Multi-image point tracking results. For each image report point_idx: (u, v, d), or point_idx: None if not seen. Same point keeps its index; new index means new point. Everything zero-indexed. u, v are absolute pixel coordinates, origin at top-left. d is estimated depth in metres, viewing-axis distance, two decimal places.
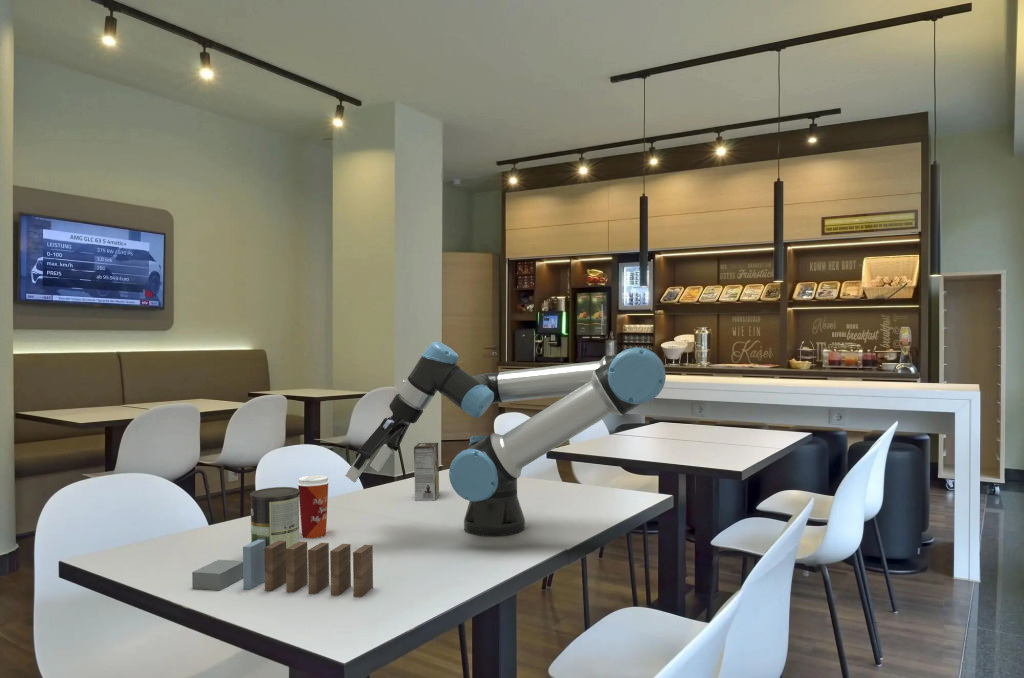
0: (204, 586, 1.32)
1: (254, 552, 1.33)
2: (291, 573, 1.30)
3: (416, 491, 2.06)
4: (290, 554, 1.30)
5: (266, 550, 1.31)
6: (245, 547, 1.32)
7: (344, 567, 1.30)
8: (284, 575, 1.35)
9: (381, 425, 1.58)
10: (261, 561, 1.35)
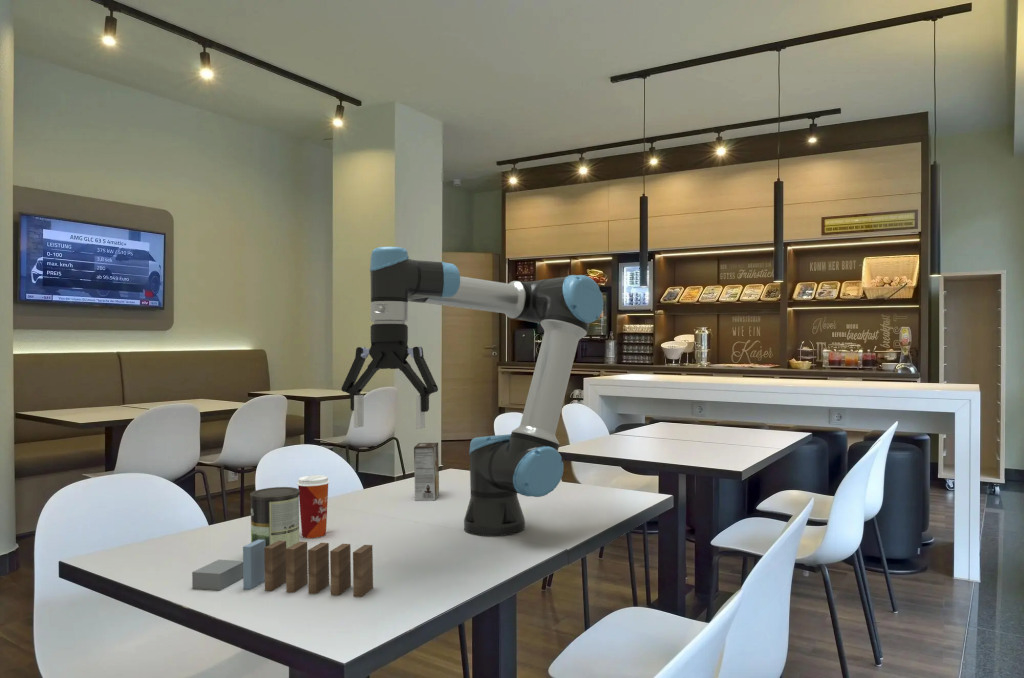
0: (204, 586, 1.32)
1: (254, 552, 1.33)
2: (291, 573, 1.30)
3: (416, 491, 2.06)
4: (290, 554, 1.30)
5: (266, 550, 1.31)
6: (245, 547, 1.32)
7: (344, 567, 1.30)
8: (284, 575, 1.35)
9: (419, 355, 1.40)
10: (261, 561, 1.35)
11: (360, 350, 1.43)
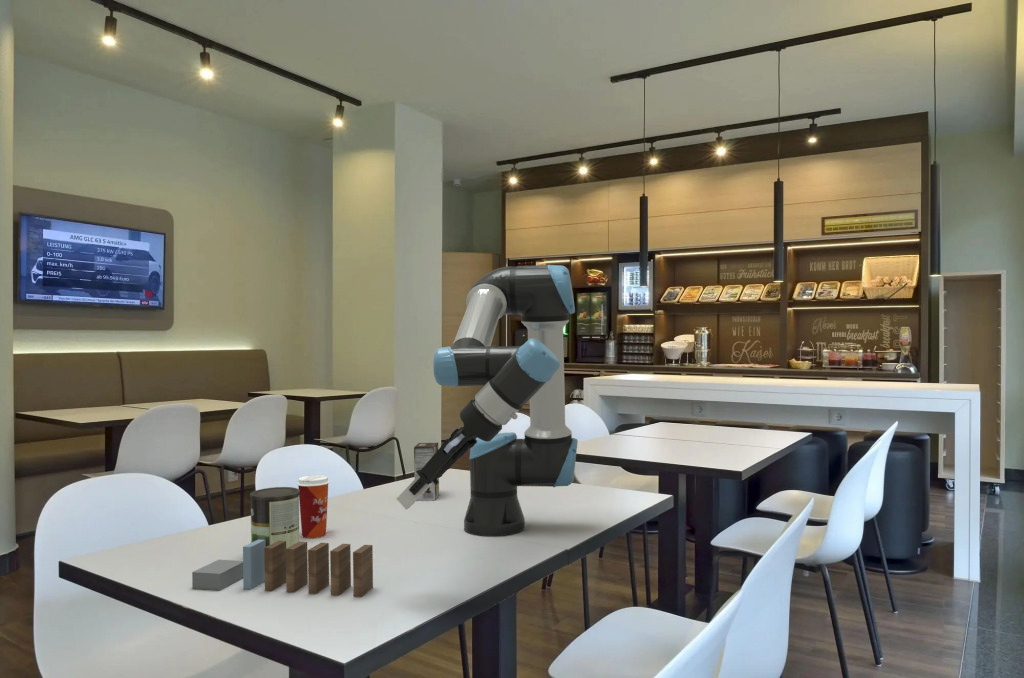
0: (204, 586, 1.32)
1: (254, 552, 1.33)
2: (291, 573, 1.30)
3: None
4: (290, 554, 1.30)
5: (266, 550, 1.31)
6: (245, 547, 1.32)
7: (344, 567, 1.30)
8: (284, 575, 1.35)
9: None
10: (261, 561, 1.35)
11: None
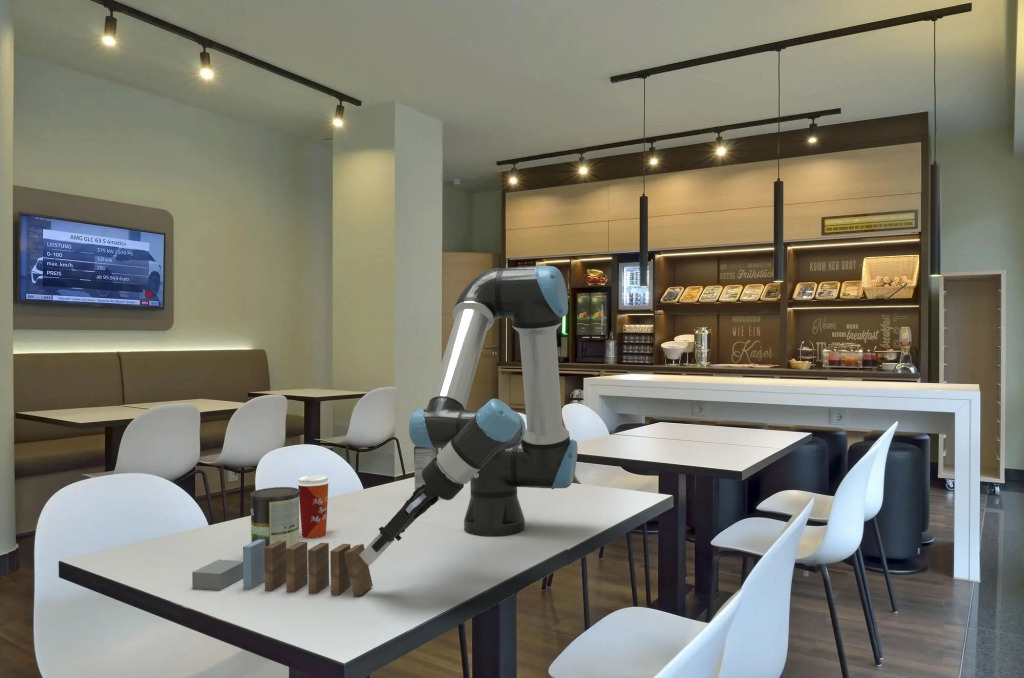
0: (204, 586, 1.32)
1: (254, 552, 1.33)
2: (291, 573, 1.30)
3: None
4: (290, 554, 1.30)
5: (266, 550, 1.31)
6: (245, 547, 1.32)
7: (344, 567, 1.30)
8: (284, 575, 1.35)
9: None
10: (261, 561, 1.35)
11: None
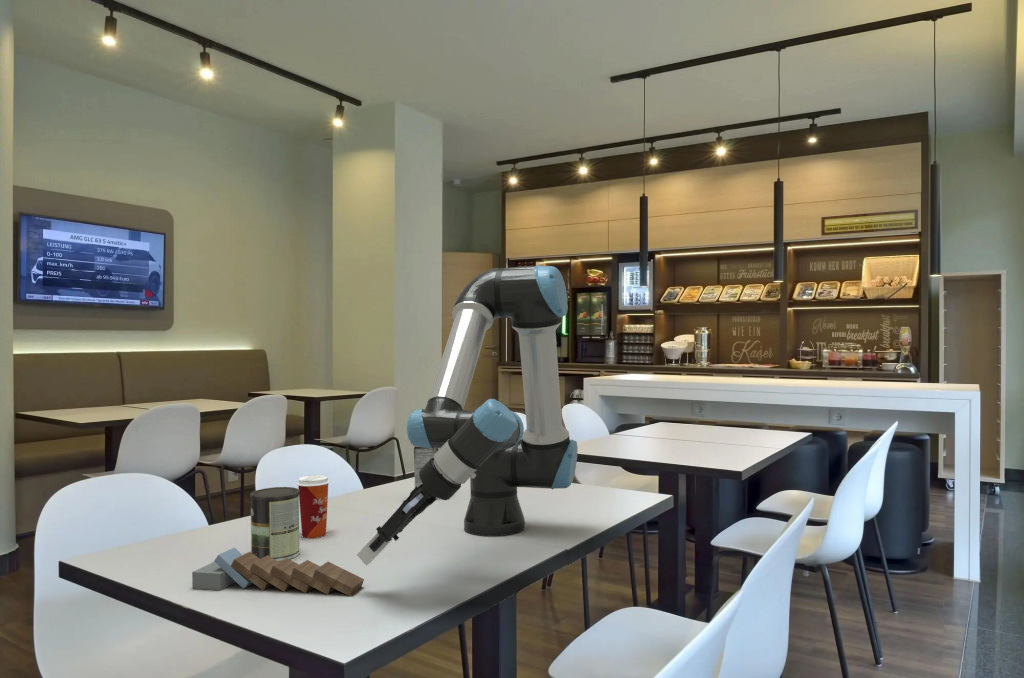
0: (204, 586, 1.32)
1: (227, 557, 1.34)
2: (271, 577, 1.31)
3: None
4: (255, 568, 1.31)
5: (233, 565, 1.32)
6: (216, 559, 1.33)
7: None
8: None
9: None
10: None
11: None
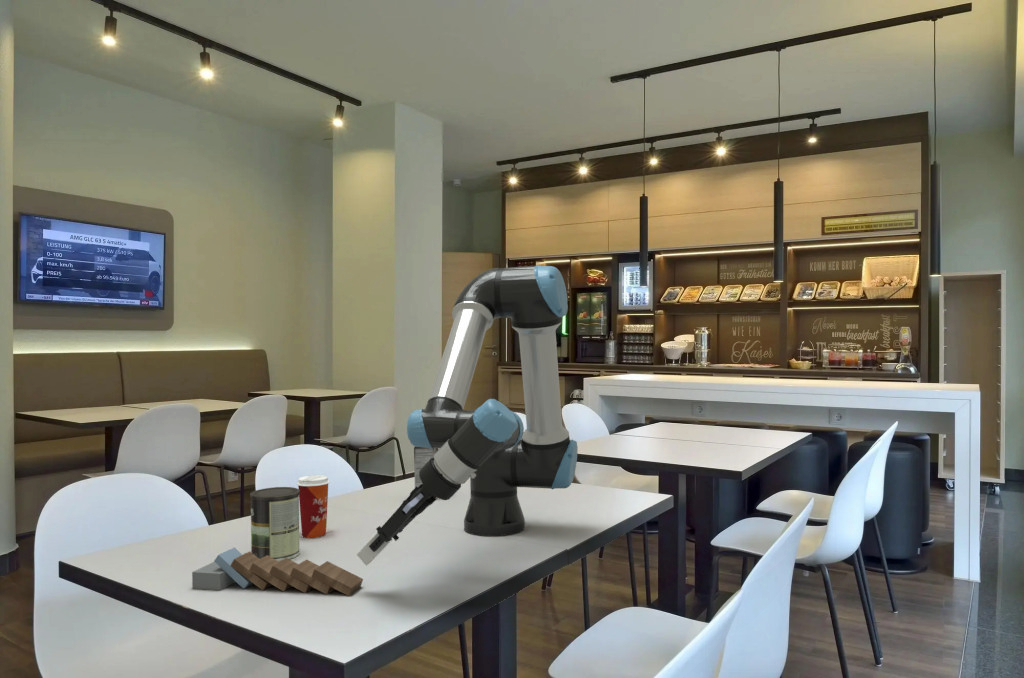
0: (204, 586, 1.32)
1: (227, 557, 1.34)
2: (270, 577, 1.31)
3: None
4: (255, 568, 1.31)
5: (233, 565, 1.32)
6: (216, 559, 1.33)
7: None
8: None
9: None
10: None
11: None
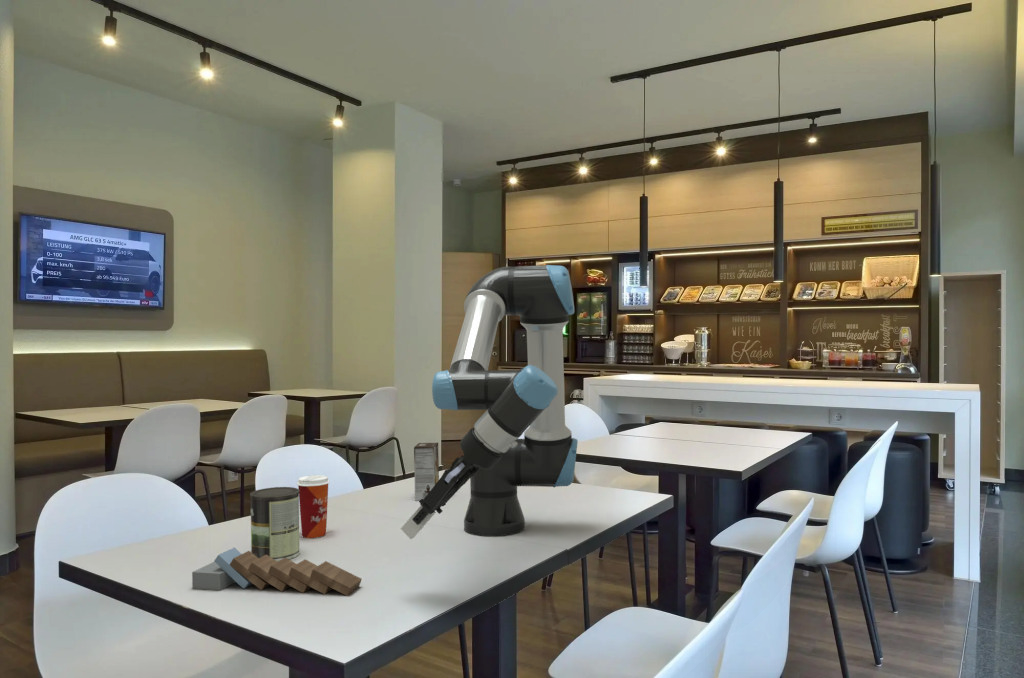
0: (204, 586, 1.32)
1: (227, 557, 1.34)
2: (269, 577, 1.31)
3: (416, 491, 2.06)
4: (254, 568, 1.31)
5: (232, 564, 1.32)
6: (216, 559, 1.33)
7: None
8: None
9: None
10: None
11: (457, 479, 1.20)
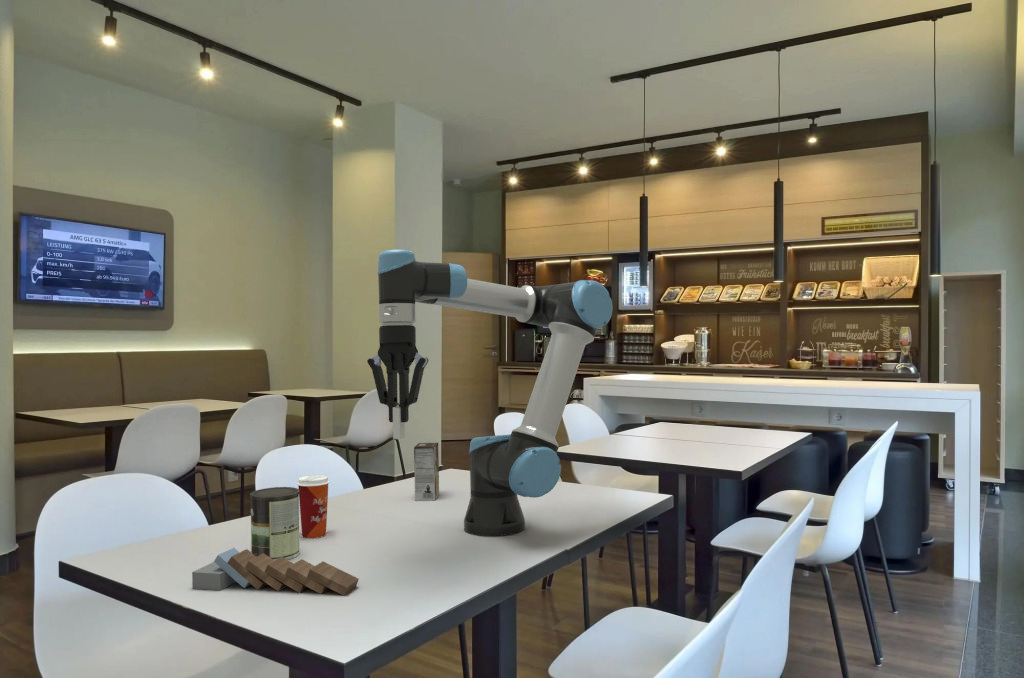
0: (204, 586, 1.32)
1: (227, 557, 1.34)
2: (266, 576, 1.31)
3: (416, 491, 2.06)
4: (251, 566, 1.32)
5: (230, 562, 1.33)
6: (215, 559, 1.33)
7: None
8: None
9: (421, 367, 1.43)
10: None
11: (371, 360, 1.45)
